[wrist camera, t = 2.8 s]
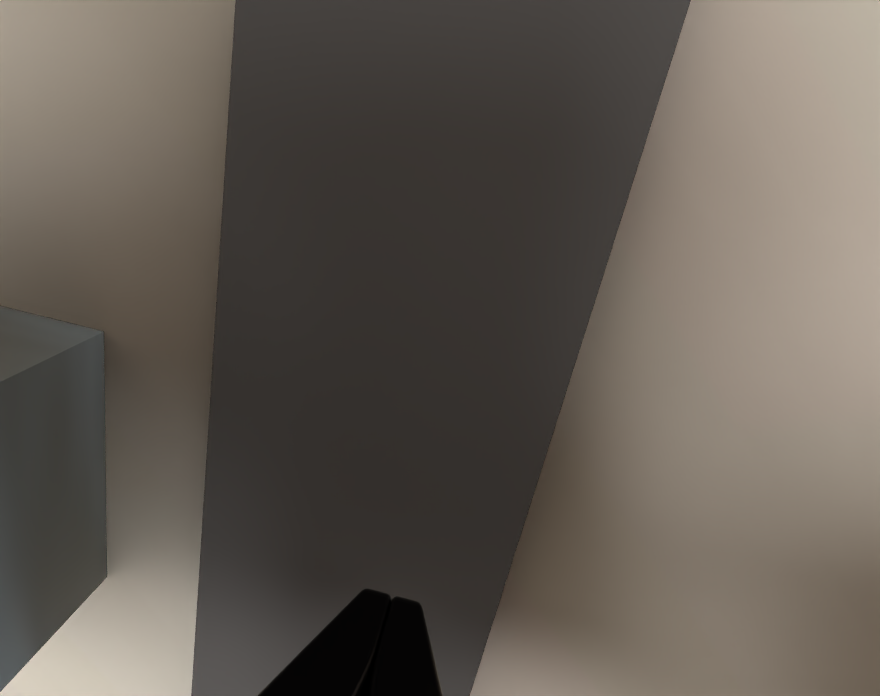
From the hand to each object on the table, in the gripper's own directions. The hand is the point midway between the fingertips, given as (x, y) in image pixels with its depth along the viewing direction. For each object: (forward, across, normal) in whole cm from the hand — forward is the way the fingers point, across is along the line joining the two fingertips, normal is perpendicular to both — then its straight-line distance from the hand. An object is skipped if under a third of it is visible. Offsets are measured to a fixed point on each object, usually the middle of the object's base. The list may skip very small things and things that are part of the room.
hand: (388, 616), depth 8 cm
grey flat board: (+2, +1, 0) cm, 2 cm away
